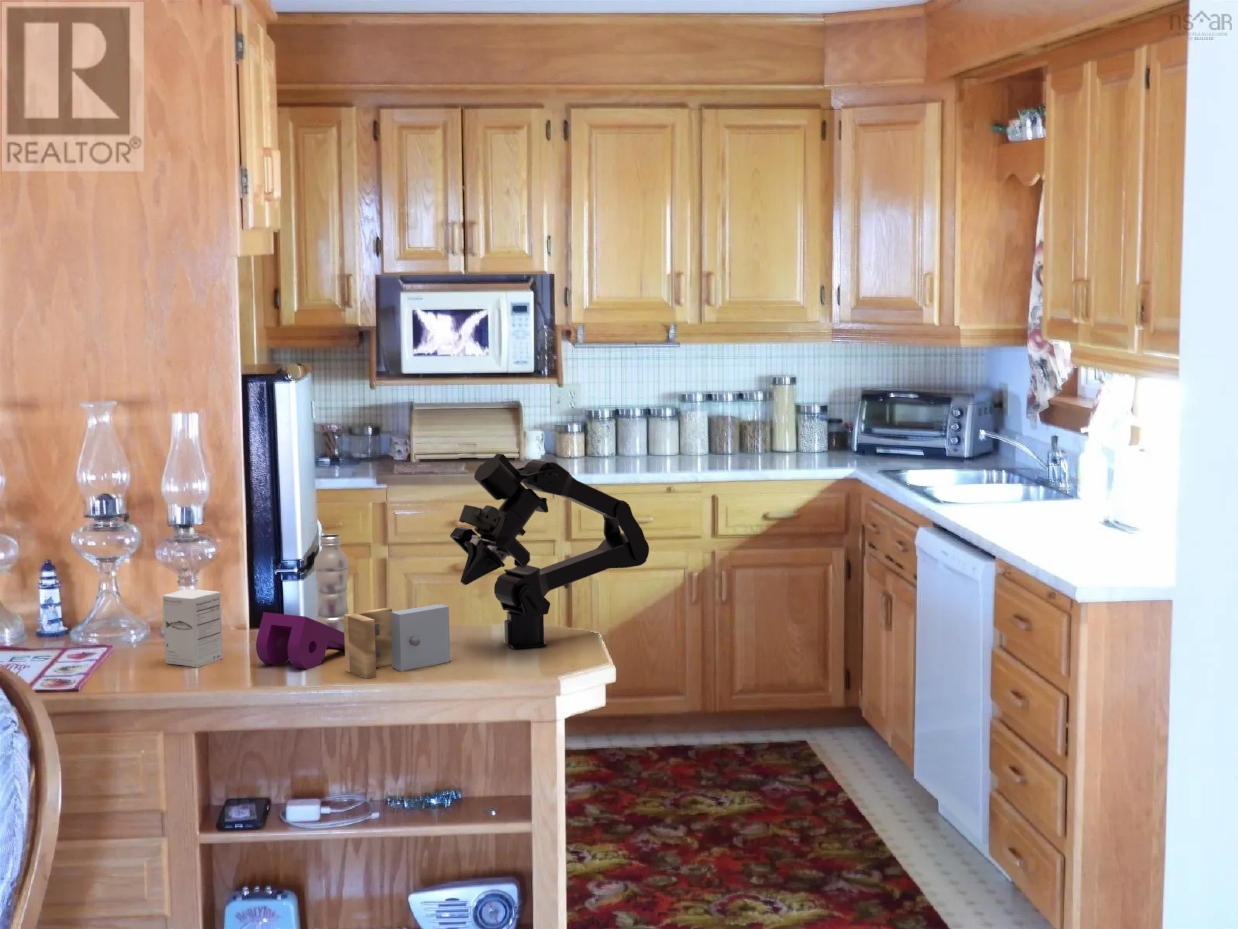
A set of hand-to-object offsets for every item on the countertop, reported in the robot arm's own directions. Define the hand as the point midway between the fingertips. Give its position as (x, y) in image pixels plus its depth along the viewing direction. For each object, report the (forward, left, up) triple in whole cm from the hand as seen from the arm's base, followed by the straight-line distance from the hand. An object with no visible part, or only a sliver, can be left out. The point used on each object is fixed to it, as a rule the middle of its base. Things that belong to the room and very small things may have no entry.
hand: (462, 583), depth 266 cm
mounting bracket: (+26, -10, -14) cm, 31 cm away
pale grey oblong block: (+8, +3, -13) cm, 16 cm away
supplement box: (+46, -15, -14) cm, 51 cm away
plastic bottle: (+20, -23, -14) cm, 33 cm away
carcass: (+16, +4, -13) cm, 22 cm away
